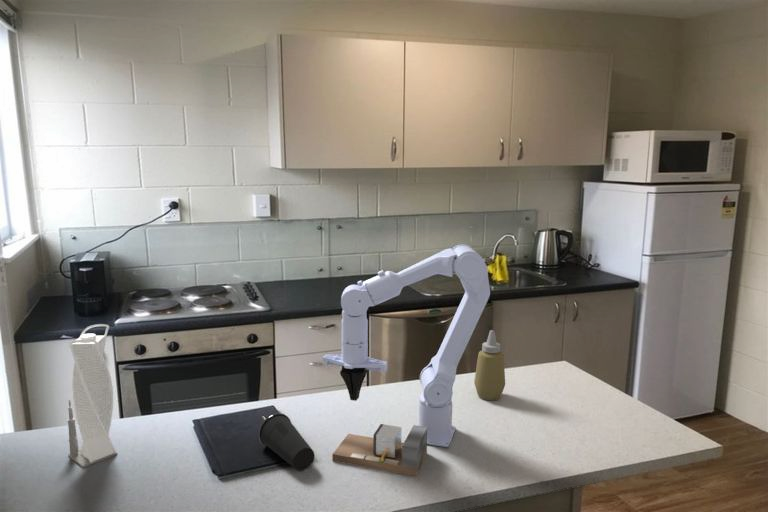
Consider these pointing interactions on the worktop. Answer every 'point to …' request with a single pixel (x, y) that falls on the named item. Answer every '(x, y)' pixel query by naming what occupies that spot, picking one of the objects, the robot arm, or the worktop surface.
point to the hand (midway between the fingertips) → (354, 398)
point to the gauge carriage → (387, 441)
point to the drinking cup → (286, 441)
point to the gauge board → (405, 462)
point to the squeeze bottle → (490, 370)
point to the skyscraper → (91, 400)
